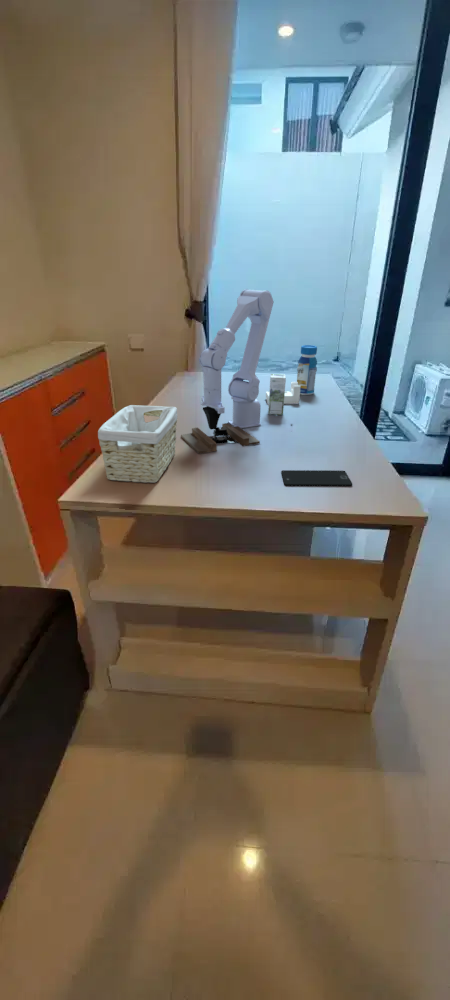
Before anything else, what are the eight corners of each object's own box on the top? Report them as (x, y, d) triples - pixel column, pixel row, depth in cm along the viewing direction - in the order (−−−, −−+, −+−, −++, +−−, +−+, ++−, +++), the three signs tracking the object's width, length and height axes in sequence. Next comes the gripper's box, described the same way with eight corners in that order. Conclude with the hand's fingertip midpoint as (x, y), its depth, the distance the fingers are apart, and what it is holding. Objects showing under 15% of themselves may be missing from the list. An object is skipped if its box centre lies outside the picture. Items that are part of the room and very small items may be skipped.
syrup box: (282, 410, 173) (285, 373, 166) (283, 415, 167) (285, 377, 160) (268, 410, 173) (270, 373, 166) (268, 415, 168) (270, 376, 161)
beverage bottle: (315, 395, 192) (320, 348, 183) (296, 395, 193) (300, 347, 183) (312, 390, 200) (317, 344, 190) (294, 390, 200) (298, 344, 190)
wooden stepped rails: (237, 428, 154) (237, 421, 153) (259, 443, 142) (260, 436, 140) (181, 436, 146) (180, 429, 145) (198, 453, 134) (198, 446, 133)
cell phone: (352, 487, 116) (353, 484, 115) (284, 487, 116) (284, 484, 115) (344, 473, 123) (345, 470, 123) (280, 473, 123) (280, 470, 123)
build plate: (236, 437, 149) (237, 424, 146) (241, 445, 142) (242, 431, 140) (200, 439, 146) (200, 425, 144) (203, 447, 140) (203, 433, 138)
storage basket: (130, 449, 137) (125, 403, 130) (181, 452, 135) (179, 405, 128) (101, 483, 116) (94, 430, 109) (161, 487, 114) (157, 433, 107)
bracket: (295, 399, 188) (297, 381, 184) (298, 404, 182) (300, 386, 178) (265, 399, 187) (266, 381, 184) (267, 404, 181) (268, 386, 177)
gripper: (192, 384, 145) (193, 423, 152) (209, 395, 134) (210, 437, 140) (212, 382, 148) (212, 420, 154) (230, 392, 136) (230, 434, 143)
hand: (212, 428), depth 147 cm, fingers closed
